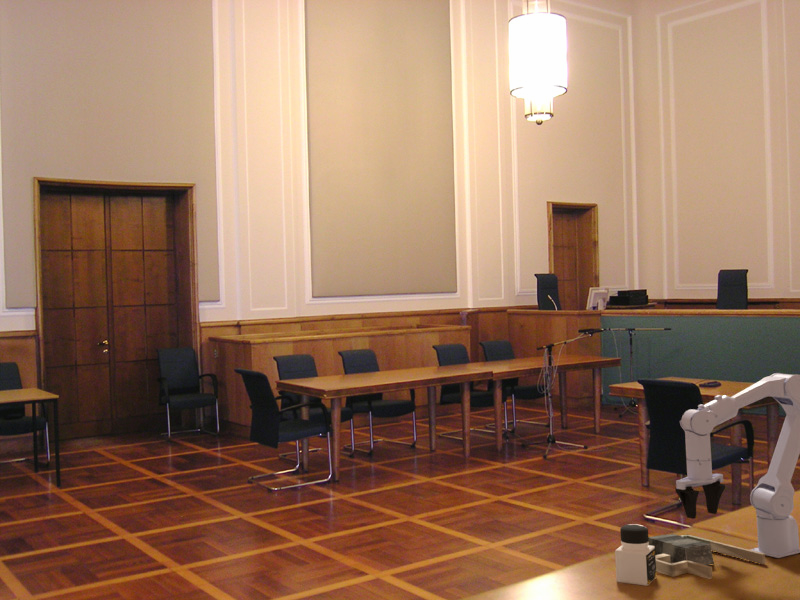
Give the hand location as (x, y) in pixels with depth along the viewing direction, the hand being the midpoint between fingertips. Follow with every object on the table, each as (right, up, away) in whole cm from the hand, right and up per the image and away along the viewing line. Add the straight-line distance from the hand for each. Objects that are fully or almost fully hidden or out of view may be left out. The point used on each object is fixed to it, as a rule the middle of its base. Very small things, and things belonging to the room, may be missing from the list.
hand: (701, 515), depth 199 cm
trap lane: (-4, -10, -3) cm, 12 cm away
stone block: (-5, -11, -1) cm, 12 cm away
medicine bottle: (-20, -11, -15) cm, 28 cm away
